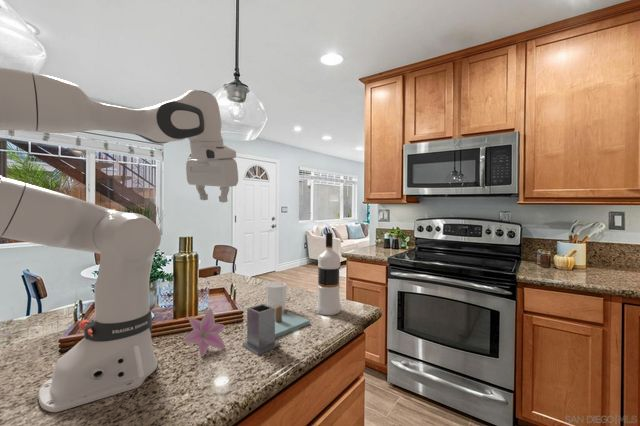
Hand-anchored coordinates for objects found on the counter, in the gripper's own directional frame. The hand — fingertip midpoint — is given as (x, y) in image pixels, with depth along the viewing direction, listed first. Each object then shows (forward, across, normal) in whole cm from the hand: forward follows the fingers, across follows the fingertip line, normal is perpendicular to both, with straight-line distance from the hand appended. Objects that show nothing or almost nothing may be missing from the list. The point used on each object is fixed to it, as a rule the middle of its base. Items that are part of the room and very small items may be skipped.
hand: (213, 201), depth 89 cm
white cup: (+46, -1, +23) cm, 52 cm away
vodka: (+47, +15, +34) cm, 60 cm away
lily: (+41, +4, -11) cm, 42 cm away
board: (+44, +9, +14) cm, 47 cm away
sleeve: (+41, +15, 0) cm, 44 cm away
